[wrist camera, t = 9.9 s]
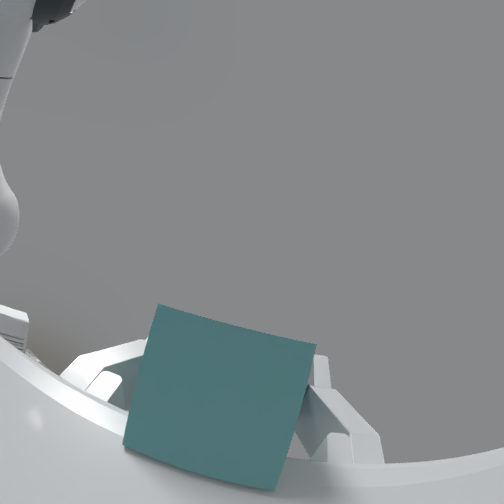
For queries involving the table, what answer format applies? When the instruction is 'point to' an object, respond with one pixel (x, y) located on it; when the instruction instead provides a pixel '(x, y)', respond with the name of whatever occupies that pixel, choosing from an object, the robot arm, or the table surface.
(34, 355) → the table surface
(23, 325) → the supplement box
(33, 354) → the table surface
